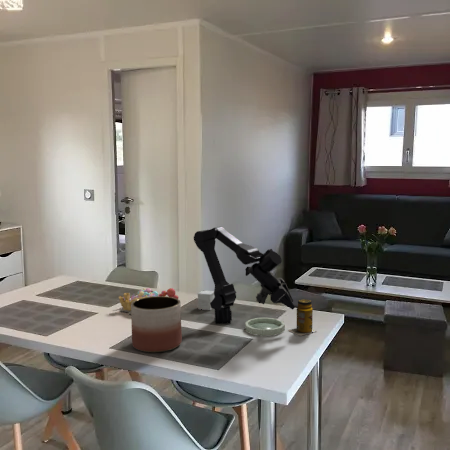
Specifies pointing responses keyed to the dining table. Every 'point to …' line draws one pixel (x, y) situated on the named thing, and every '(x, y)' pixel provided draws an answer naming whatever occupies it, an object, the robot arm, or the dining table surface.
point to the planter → (156, 323)
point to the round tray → (264, 326)
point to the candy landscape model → (143, 293)
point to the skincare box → (205, 299)
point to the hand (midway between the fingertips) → (293, 305)
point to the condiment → (303, 318)
